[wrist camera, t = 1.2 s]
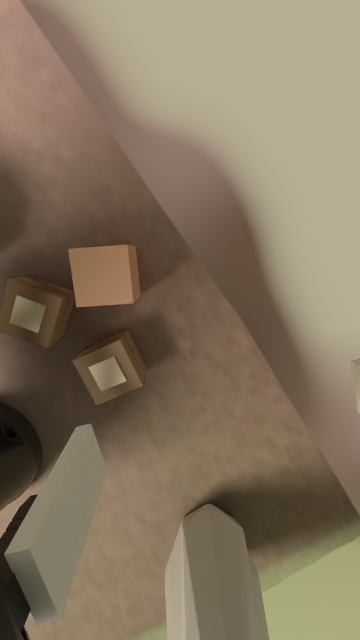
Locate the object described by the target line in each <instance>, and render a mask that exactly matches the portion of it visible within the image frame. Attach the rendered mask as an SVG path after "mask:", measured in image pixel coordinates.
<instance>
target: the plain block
mask: <svg viewBox="0 0 360 640" xmlns="http://www.w3.org/2000/svg"><path fill="white" fill-rule="evenodd" d="M68 253H69V259H70V266H71V273H72V280H73V286H74V293H75V300H76V307H90V306H104V305H118V304H132V303H134V302H135V301H136V300H137V299H138V298H139V297H140V296H141V293H140V283H139V273H138V263H137V254H136V246H135V245H128V244H127V245H113V246H100V247H86V248H73V249H68Z"/></svg>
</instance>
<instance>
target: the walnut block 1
mask: <svg viewBox="0 0 360 640" xmlns="http://www.w3.org/2000/svg"><path fill="white" fill-rule="evenodd" d="M74 302H75V293H74V291H72V290H69V289H67V288H64V287H61V286H59V285H56V284H53V283H51V282H48V281H45V280H43V279H40V278H37V277H35V276H32V275H26V276H19V277H13V278H8V280H7V284H6V288H5V292H4V296H3V299H2V303H1V307H0V331H1V332H3V333H6V334H9V335H12V336H15V337H17V338H20V339H23V340H26V341H29V342H31V343H34V344H37V345H40V346H43V347H45V348H48V347H50V346H51V345H52V344H54V343H55V342H56V341H58V340H59V339H61V338H62V337H63V336H64V333H65V330H66V327H67V324H68V321H69V317H70V314H71V311H72V308H73V305H74Z"/></svg>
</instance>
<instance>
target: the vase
mask: <svg viewBox="0 0 360 640" xmlns="http://www.w3.org/2000/svg"><path fill="white" fill-rule="evenodd" d="M165 597H166V616H167V635H168V640H269V636H268V630H267V623H266V617H265V611H264V605H263V599H262V593H261V588H260V582H259V577H258V574H257V570H256V568H255V565H254V563H253V561H252V559H251V556H250V554H249V552H248V549H247V546H246V540H245V535H244V531H243V528H242V527H241V525H240V524H239V523H238V522H237V521H236V520H235V518H233V517H232V516H230V515H229V514H227V513H226V512H224V511H223V510H221V509H219V508H218V507H216V506H214V505H213V504H205V505H203V506H201V507H200V508H198V509H196V510H195V511H193V512H191V513H190V514H188V515H186V516H185V517H183V519H182V521H181V524H180V527H179V530H178V533H177V536H176V539H175V542H174V545H173V548H172V551H171V554H170V557H169V560H168V564H167V567H166V571H165Z"/></svg>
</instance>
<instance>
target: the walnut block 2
mask: <svg viewBox="0 0 360 640" xmlns="http://www.w3.org/2000/svg"><path fill="white" fill-rule="evenodd" d="M72 362H73V363H74V365H75V367H76V369H77V371H78V373H79V374H80V376H81V378H82V380H83V382H84V384H85V385H86V387H87V389H88V391H89V393H90V394H91V396H92V398H93V400H94V402H95V404H96V405H99V404H101V403H103V402H106V401H108V400H111V399H113V398H115V397H118V396H120V395H123V394H125V393H127V392H130V391H132V390H135V389H137V388H140V387H142V386H143V384H144V381H145V377H146V373H147V368H146V366H145V364H144V362H143V360H142V358H141V356H140V354H139V352H138V350H137V348H136V346H135V344H134V342H133V340H132V338H131V336H130V334H129V332H128V330H124V331H122V332H120V333H118V334H115V335H113V336H111V337H108V338H106V339H104V340H102V341H99V342H97V343H95V344H92V345H90V346H88V347H85V348H84V349H83V350H82V351H81V352H80V353H79V354H78V355H77V356H76V357H75V358H74V359H73V360H72Z"/></svg>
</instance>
